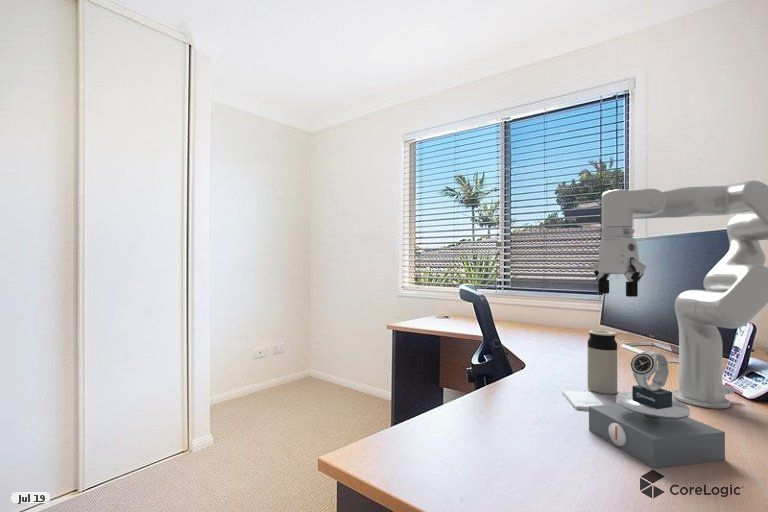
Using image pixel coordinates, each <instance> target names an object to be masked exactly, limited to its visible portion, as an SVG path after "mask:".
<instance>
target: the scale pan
mask: <svg viewBox="0 0 768 512" xmlns="http://www.w3.org/2000/svg"><path fill="white" fill-rule="evenodd" d="M615 398H616V401H615V402H616V404H619V405H620V406H622V407H623V408H625V409H628V410H630V411H633V412H636V413H639V414H643V415H644V416H646V417H648V418H653V419H659V418H665V419H683V418H687V417H689V418H690V415H691V409H690V407H689V406H688V405H687V404H685V403H684V402H682V401H680V400H678V399H675V398H674V399H673V398H672V407H668V408H663V409H656V408H653V407H650V406H647V405H644V404H642V403H639V402H636V401H633V398H632V391H624V392H619V393H617V394H616V397H615Z"/></svg>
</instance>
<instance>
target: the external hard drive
mask: <svg viewBox="0 0 768 512" xmlns="http://www.w3.org/2000/svg"><path fill="white" fill-rule="evenodd" d="M561 393H562V394H561V395H562V396H564V398H565V397H566V398H567V399H566V398H565V399H566V400H567V401H568V402H569V404H572V405H573V406H574V407H575V408H574V407H573V406H572V405H571V406H572V407H573V408H574V409H575V410H576V409H585V410H584V411H589V406H599V405H605V404H604V403H603V402H602V401H601V400H600V399H599V398H598V397H597V396H596V395H594V394H593V392H589V391H577V390H562V391H561Z"/></svg>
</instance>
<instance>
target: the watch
mask: <svg viewBox="0 0 768 512" xmlns="http://www.w3.org/2000/svg"><path fill="white" fill-rule="evenodd" d="M630 369H631V371H632V376H633V377H634V379H635V382H636V383H637V385H632V389H631V390H632V391H631V392H632V398H633V401H636V402H639V403H642V404H644V405H647V406H650V407H653V408H656V409H663V408H668V407H672V399H673V391H671V390H667V389H664V388H663V387H664V386H665V385H666V382H667V379H668V377H669V372H670V369H669V362H668V359H667V357H666V356H665V355H664V354H663V353H661V352H656V351H651V350H645V351H641V352H640V353H638V354H636V355H634V356H633V358H632V359H631V361H630ZM652 375H653V378H652V383H651V384H649V383H648V381H649V380H650V379H651V376H652Z"/></svg>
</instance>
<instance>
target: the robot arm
mask: <svg viewBox="0 0 768 512" xmlns="http://www.w3.org/2000/svg"><path fill="white" fill-rule="evenodd" d="M728 215H734V216H733V217H731V218H730V219H729V220H728V222H727V225H726V233H727V237H728V241H729V242H728V243H729V250H728V251H727V253H726V254H725V255H724V256H723V257H722V258H721V259H720V260H719V261H718V262H717V263H716V264H715V265H714V266H713V267H712V269H711V270H709V272H708V273H707V274H706V275H705V276H704V279H703V282H702V283H703V284H702V285H703V288H704V289H689V290H685V291H683V292H680V293H679V295H677V296H676V299H675V301H674V311H675V316H676V320H677V325H678V326H677V327H678V341H679V343H678V345H679V346H678V359H679V360H678V366H679V367H678V374H679V375H678V376H679V378H678V379H679V381H678V383H679V386H678V387H679V389H676V390H673V391H672V397H673V398H674V399H675V400H677V401H679V402H682V403H684V404H685V403H686V404H688V405H693V406H697V407H701V408H707V409H720V410H721V409H727V408H730V407H731V401H730V400H729V399H728V398H726V397H725V395H731V394H732V395H733V394H734V393H735V389H734V388H733V387H731V386H724V385H723V381H724V380H723V339H722V336H721V333H720V331H719V329H718V328H722V329H723V328H725V329H734V330H735V329H739V328H742V327H744V326H746V325H747V324H748V323H749V322H751V321H752V320H753V319H754V318H755V317H756V315H758V313H760V311H762V309H764V307H765V306H766V305H767V304H768V267H767V266H765V263H766V254H765V252H764V250H763V249H762V246H761V244H760V241H768V184H766V183H764V182H762V181H759V180H747V181H742V182H737V183H734V184H733V183H732V184H726V185H712V186H711V185H710V186H688V187H687V186H686V187H680V188H675V189H670V190H666V191H665V190H664V191H661V190H659V189H656V188H644V189H634V190H631V189H630V190H629V189H624V188H623V189H613V190H607V191H604V192H603V193H602V195H601V239H600V242H599V249H598V261H596V262H595V263H593V264H592V270H593V271H594V275H595V276H596V280H597V281H598V282H597V283H598V284H597V285H598V286H597V287H598V289H597V290H598V294H600V295H601V294H602V295H604V294H606V295H607V294H609V293H610V279H609V277H610V276H611V275H624V277H625V278H626V280H627V281H625V296H626V297H628V298H632V297H633V298H634V297H637V298H638V295H639V289H638V288H639V287H638V286H639V285H638V284H639V283H638V282H640V280H641V278H643V277H644V273H645V271H646V268H647V267H646V265H645V264H643V263H642V262H641V261H640V258H639V257H640V255H639V249H638V244H637V240H636V238H634V237H633V235H634V233H635V228H634V223H633V222H634V220H644V219H646V220H647V219H659V218H661V219H662V218H663V219H664V218H667V219H669V218H686V217H687V218H689V217H691V218H693V217H706V216H709V217H713V216H714V217H715V216H716V217H717V216H728Z"/></svg>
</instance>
